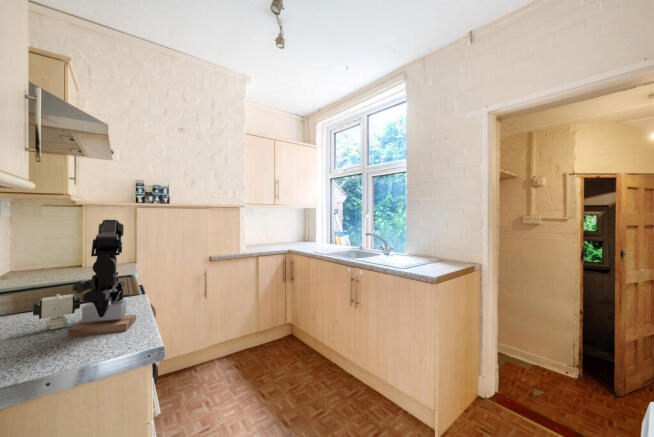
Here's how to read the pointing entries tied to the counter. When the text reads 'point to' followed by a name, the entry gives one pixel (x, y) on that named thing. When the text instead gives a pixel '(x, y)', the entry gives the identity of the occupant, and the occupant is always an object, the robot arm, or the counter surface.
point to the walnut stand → (102, 326)
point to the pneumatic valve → (56, 309)
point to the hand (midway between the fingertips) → (104, 314)
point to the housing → (113, 312)
